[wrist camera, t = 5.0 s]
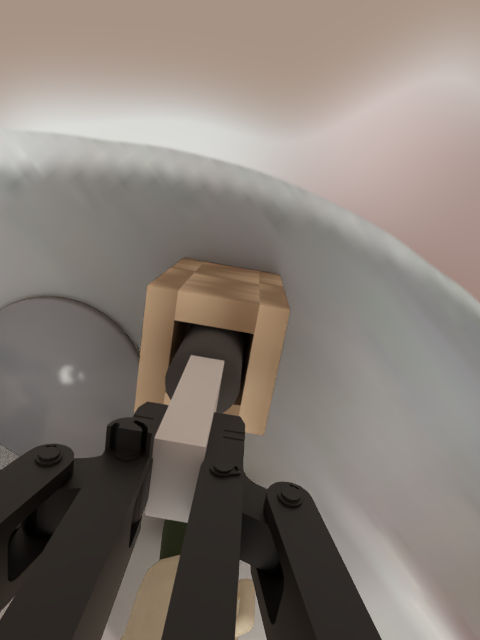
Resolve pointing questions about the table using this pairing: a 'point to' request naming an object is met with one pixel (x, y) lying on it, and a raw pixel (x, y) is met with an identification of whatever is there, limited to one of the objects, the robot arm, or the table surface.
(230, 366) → the dark grey tall cylinder
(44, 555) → the robot arm
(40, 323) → the coaster
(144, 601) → the character mug
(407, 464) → the table surface
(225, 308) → the block
